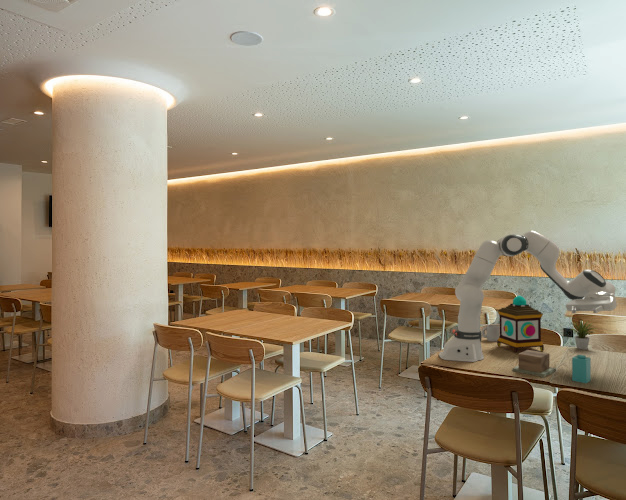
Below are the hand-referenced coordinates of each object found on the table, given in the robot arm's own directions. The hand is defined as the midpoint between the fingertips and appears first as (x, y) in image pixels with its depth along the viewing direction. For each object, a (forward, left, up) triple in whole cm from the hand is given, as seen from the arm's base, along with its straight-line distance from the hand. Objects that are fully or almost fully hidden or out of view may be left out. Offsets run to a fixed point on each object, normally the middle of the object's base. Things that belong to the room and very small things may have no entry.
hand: (583, 311), depth 205 cm
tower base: (-21, +1, -28) cm, 35 cm away
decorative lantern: (-15, +43, -29) cm, 54 cm away
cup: (-26, +63, -28) cm, 74 cm away
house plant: (+18, +45, -28) cm, 56 cm away
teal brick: (-6, -12, -28) cm, 31 cm away
